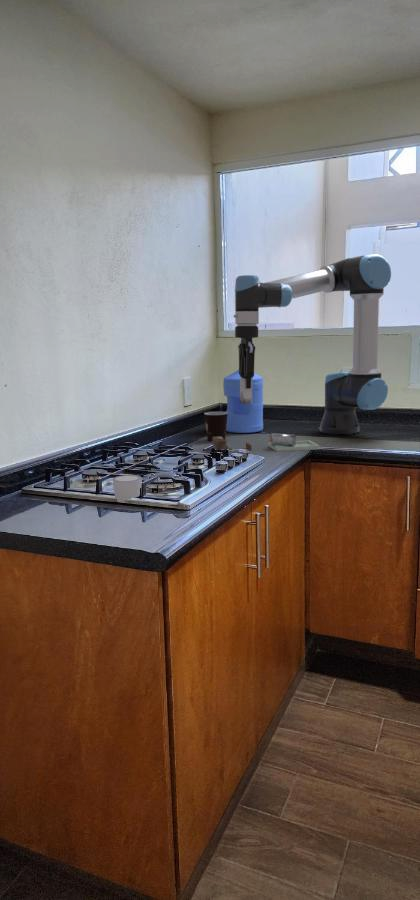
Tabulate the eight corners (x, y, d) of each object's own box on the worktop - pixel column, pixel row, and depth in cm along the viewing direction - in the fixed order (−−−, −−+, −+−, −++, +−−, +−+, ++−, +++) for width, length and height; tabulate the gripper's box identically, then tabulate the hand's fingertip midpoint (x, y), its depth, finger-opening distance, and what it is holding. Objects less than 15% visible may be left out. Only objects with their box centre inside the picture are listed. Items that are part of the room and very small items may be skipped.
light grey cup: (129, 500, 146) (127, 473, 145) (149, 505, 142) (147, 477, 141) (107, 507, 141) (106, 479, 140) (127, 513, 137) (126, 483, 136)
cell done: (293, 433, 204) (268, 432, 203) (296, 435, 200) (271, 433, 199) (291, 445, 205) (267, 443, 203) (295, 447, 201) (270, 445, 199)
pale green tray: (309, 444, 209) (309, 440, 209) (319, 449, 200) (319, 445, 199) (268, 446, 206) (268, 442, 206) (276, 452, 197) (276, 448, 197)
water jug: (245, 425, 251) (244, 357, 245) (271, 430, 238) (271, 358, 233) (216, 429, 241) (214, 359, 236) (241, 435, 229) (240, 361, 223)
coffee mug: (225, 442, 215) (225, 415, 213) (202, 442, 216) (201, 414, 214) (231, 436, 226) (231, 410, 224) (208, 436, 227) (208, 410, 225)
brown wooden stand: (246, 447, 205) (246, 433, 204) (253, 453, 197) (253, 438, 196) (212, 449, 203) (212, 435, 202) (217, 455, 195) (217, 440, 194)
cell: (250, 402, 201) (250, 376, 199) (253, 403, 197) (253, 377, 196) (238, 402, 200) (238, 376, 199) (241, 404, 196) (241, 377, 195)
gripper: (230, 325, 201) (229, 395, 206) (241, 325, 185) (240, 400, 190) (251, 325, 202) (251, 394, 207) (264, 325, 186) (263, 400, 191)
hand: (246, 397), depth 198 cm, fingers closed on cell, 3 cm apart
